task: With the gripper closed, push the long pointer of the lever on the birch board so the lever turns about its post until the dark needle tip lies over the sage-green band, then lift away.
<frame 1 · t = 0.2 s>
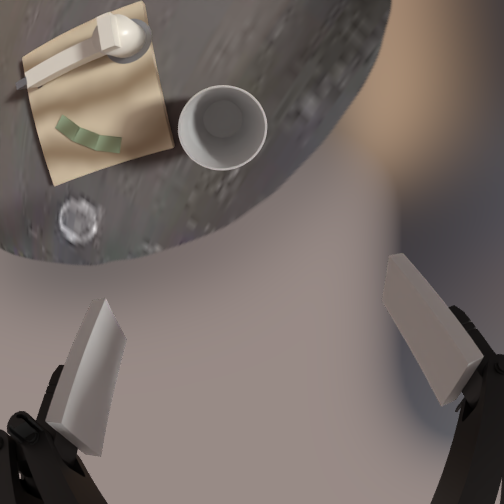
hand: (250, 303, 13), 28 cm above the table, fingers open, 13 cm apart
cup: (222, 118, 34), on the table
lever: (69, 56, 23), point 6 cm above the table, hinge at 0.0°
board: (92, 94, 30), on the table
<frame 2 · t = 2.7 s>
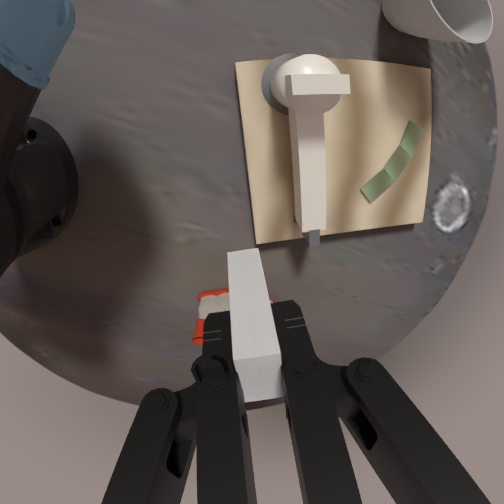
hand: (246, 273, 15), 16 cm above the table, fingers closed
toy: (247, 315, 39), on the table
cup: (400, 12, 21), on the table
lever: (312, 157, 23), point 6 cm above the table, hinge at 0.0°
board: (344, 146, 28), on the table
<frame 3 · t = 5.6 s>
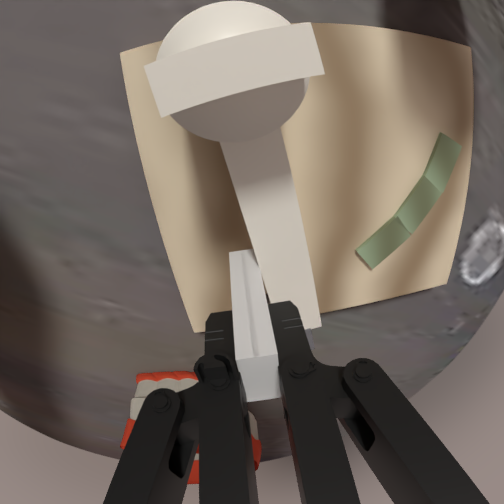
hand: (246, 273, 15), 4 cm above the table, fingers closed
toy: (204, 395, 28), on the table
lever: (273, 221, 12), point 6 cm above the table, hinge at 8.0°, touching gripper
board: (329, 178, 17), on the table
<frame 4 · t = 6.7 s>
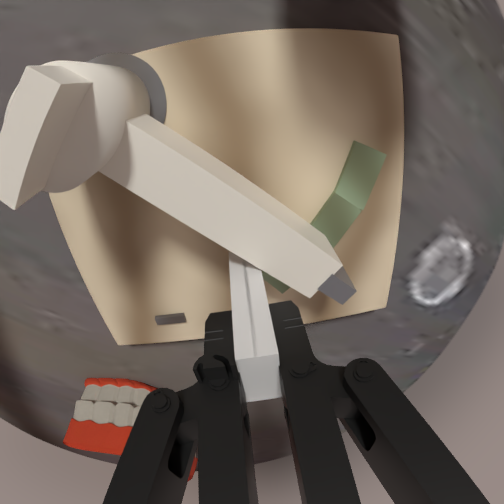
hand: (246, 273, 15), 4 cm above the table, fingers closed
toy: (149, 403, 28), on the table
lever: (200, 200, 11), point 6 cm above the table, hinge at 45.6°, touching gripper
board: (228, 200, 17), on the table
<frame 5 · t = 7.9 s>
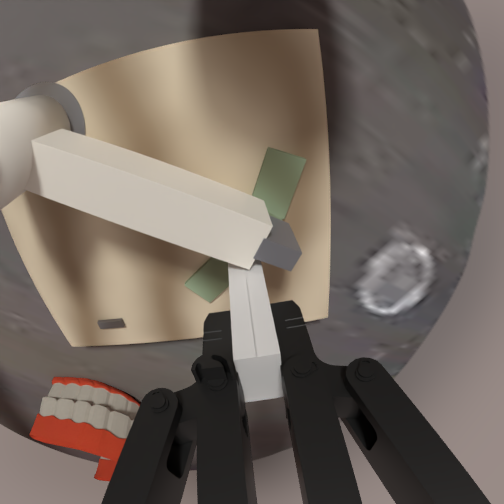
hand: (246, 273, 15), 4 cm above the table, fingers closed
toy: (112, 402, 28), on the table
lever: (106, 192, 11), point 6 cm above the table, hinge at 58.0°, touching gripper
board: (153, 212, 17), on the table
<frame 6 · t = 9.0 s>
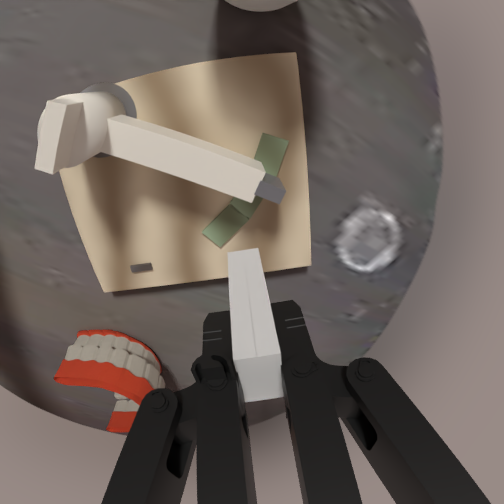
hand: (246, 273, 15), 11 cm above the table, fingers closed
toy: (129, 355, 34), on the table
lever: (159, 152, 17), point 6 cm above the table, hinge at 59.9°
board: (180, 179, 24), on the table
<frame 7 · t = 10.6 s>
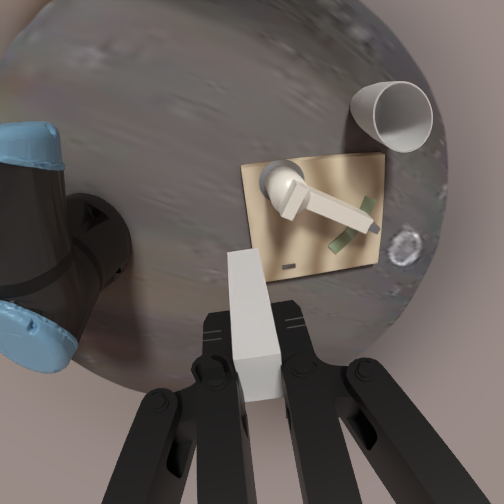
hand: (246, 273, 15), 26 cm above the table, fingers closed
cup: (365, 107, 36), on the table
lever: (330, 209, 37), point 6 cm above the table, hinge at 59.9°
board: (317, 216, 43), on the table
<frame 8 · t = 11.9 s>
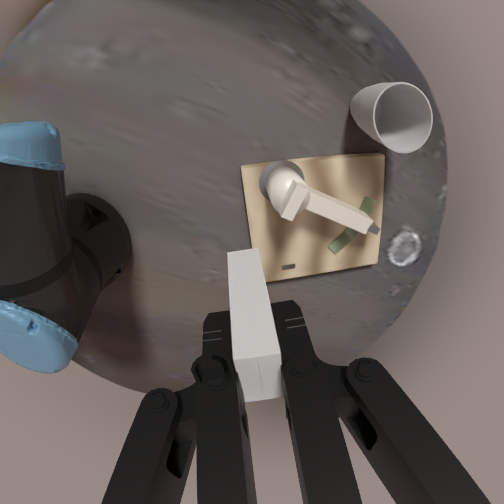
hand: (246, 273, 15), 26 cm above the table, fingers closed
cup: (365, 108, 36), on the table
lever: (330, 209, 37), point 6 cm above the table, hinge at 59.9°
board: (316, 216, 43), on the table
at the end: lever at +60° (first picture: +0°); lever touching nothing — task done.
